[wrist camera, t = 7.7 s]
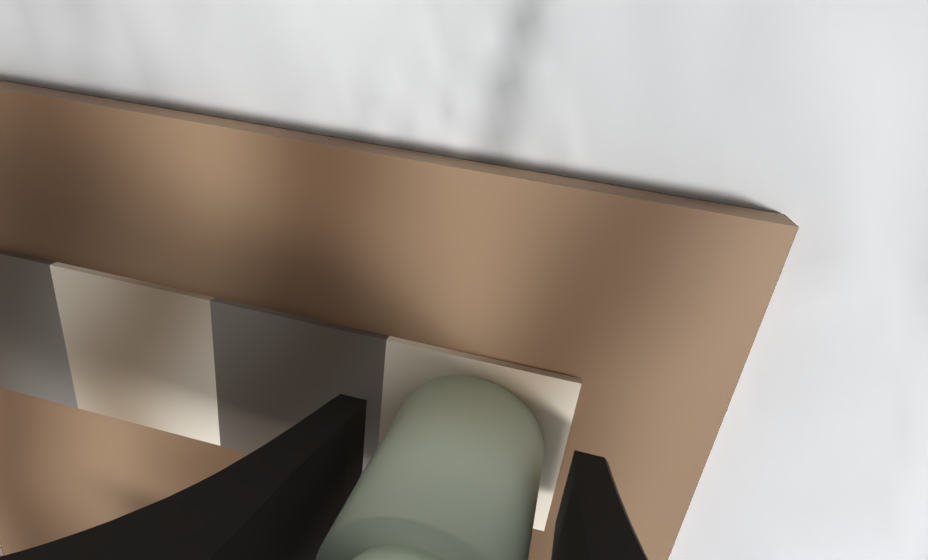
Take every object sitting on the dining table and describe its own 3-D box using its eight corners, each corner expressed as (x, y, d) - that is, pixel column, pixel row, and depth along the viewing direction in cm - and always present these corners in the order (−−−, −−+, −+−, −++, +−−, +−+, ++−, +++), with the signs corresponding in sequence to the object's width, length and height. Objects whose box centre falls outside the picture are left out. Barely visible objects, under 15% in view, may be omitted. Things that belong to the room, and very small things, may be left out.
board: (784, 214, 10) (802, 230, 9) (593, 717, 17) (593, 755, 16) (-108, 61, 13) (-161, 62, 12) (27, 542, 20) (0, 566, 19)
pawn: (562, 404, 11) (526, 706, 6) (522, 519, 13) (464, 846, 8) (409, 355, 12) (252, 599, 7) (386, 471, 13) (241, 749, 8)
